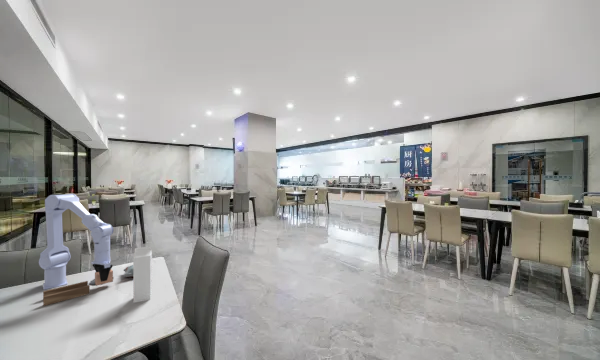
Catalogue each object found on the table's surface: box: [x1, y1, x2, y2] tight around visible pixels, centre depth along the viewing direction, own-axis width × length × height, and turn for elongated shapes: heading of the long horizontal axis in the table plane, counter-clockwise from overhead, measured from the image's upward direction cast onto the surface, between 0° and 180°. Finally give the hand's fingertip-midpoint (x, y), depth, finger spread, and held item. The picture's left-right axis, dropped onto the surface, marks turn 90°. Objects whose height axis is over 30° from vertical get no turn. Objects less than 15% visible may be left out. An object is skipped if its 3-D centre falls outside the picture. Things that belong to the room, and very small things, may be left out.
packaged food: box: [122, 264, 133, 278], centre depth 126 cm, size 9×12×5 cm
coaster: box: [89, 276, 115, 286], centre depth 119 cm, size 9×9×1 cm
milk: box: [132, 246, 153, 304], centre depth 102 cm, size 6×6×22 cm
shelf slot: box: [42, 280, 90, 307], centre depth 103 cm, size 8×14×4 cm, turn 137°
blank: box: [94, 269, 114, 286], centre depth 113 cm, size 4×6×5 cm, turn 139°
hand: (102, 279), depth 112 cm, fingers closed on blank, 4 cm apart
